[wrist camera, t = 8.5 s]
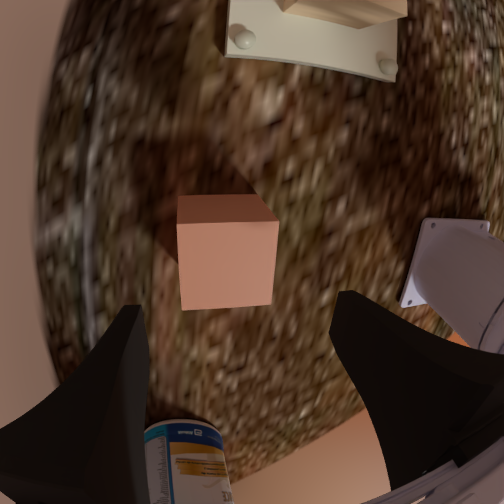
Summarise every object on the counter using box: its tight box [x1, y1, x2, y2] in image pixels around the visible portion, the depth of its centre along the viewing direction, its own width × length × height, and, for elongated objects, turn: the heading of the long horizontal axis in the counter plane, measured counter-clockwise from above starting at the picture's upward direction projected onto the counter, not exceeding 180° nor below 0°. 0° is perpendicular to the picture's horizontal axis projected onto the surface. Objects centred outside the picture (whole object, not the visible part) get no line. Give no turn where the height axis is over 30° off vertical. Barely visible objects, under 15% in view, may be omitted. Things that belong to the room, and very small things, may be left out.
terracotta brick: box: [177, 194, 279, 310], centre depth 16 cm, size 4×4×4 cm
